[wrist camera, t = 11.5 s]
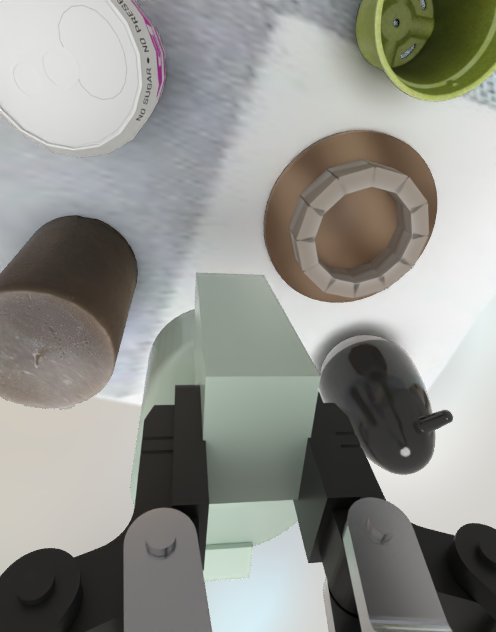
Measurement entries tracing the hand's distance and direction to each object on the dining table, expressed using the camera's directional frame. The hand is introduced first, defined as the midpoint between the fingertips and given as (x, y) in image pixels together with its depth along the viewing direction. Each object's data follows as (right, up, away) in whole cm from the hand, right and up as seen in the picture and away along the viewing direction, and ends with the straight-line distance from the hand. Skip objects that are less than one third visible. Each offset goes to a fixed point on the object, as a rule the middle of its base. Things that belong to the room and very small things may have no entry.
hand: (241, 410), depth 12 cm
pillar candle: (-15, +7, +28) cm, 33 cm away
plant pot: (+11, +25, +21) cm, 34 cm away
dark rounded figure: (+12, -2, +38) cm, 40 cm away
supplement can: (-10, +21, +20) cm, 31 cm away
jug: (-2, 0, +10) cm, 10 cm away
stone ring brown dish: (+10, +11, +29) cm, 32 cm away
